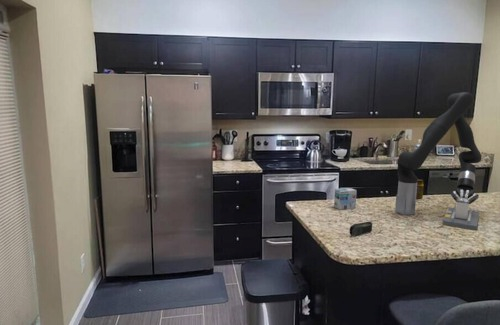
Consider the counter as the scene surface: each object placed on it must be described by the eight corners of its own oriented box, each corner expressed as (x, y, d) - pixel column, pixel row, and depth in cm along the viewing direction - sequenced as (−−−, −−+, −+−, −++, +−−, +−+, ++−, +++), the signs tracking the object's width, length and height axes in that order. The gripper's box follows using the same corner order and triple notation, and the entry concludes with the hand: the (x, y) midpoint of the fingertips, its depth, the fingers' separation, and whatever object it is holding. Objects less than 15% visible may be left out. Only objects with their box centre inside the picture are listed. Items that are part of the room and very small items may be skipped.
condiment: (424, 198, 218) (426, 179, 216) (419, 200, 212) (421, 181, 210) (413, 196, 223) (414, 178, 221) (407, 198, 217) (409, 180, 216)
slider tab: (455, 215, 176) (457, 198, 175) (467, 217, 173) (469, 200, 172) (455, 217, 172) (456, 200, 171) (467, 219, 170) (469, 202, 168)
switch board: (448, 210, 192) (448, 204, 191) (478, 215, 184) (479, 208, 183) (442, 224, 169) (442, 217, 168) (476, 230, 161) (477, 223, 160)
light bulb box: (339, 210, 193) (340, 191, 191) (333, 206, 199) (334, 188, 197) (356, 208, 195) (357, 190, 194) (349, 205, 202) (350, 187, 200)
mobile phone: (368, 220, 161) (346, 225, 153) (373, 221, 159) (352, 227, 150) (367, 230, 162) (346, 236, 153) (373, 232, 159) (351, 238, 151)
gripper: (451, 175, 183) (447, 203, 175) (481, 178, 176) (478, 207, 168) (451, 183, 189) (447, 210, 181) (480, 187, 181) (477, 215, 173)
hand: (462, 209), depth 174 cm, fingers closed
